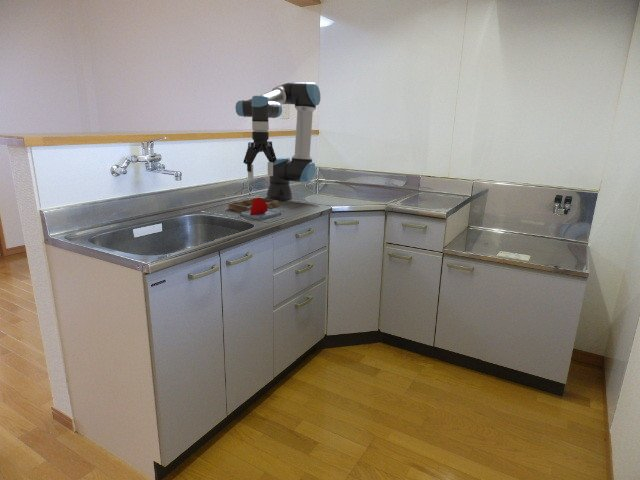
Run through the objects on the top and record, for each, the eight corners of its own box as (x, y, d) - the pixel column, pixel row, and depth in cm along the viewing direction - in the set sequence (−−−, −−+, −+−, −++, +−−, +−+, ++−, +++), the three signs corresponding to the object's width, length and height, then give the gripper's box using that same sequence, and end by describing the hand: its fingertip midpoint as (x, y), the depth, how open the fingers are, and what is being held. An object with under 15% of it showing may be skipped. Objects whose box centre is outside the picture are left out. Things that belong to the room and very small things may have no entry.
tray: (261, 210, 214) (261, 207, 213) (281, 214, 207) (281, 211, 206) (240, 215, 202) (240, 212, 202) (260, 220, 195) (260, 217, 195)
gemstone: (260, 214, 193) (271, 203, 200) (244, 204, 194) (255, 193, 201) (255, 226, 199) (266, 215, 206) (240, 216, 200) (251, 205, 207)
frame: (259, 202, 233) (259, 197, 232) (278, 206, 225) (278, 200, 224) (228, 209, 215) (228, 203, 214) (248, 213, 207) (248, 207, 206)
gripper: (272, 130, 205) (272, 173, 211) (234, 131, 185) (236, 179, 191) (284, 131, 201) (283, 175, 207) (247, 132, 181) (247, 181, 187)
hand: (260, 177), depth 199 cm, fingers open, 13 cm apart
